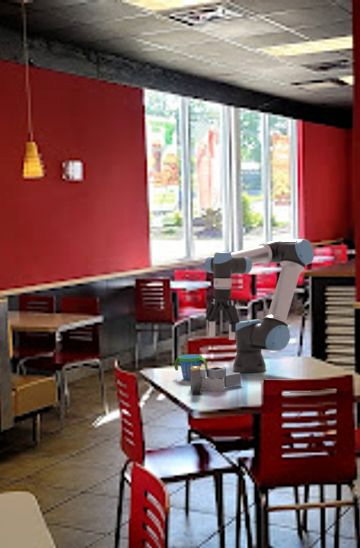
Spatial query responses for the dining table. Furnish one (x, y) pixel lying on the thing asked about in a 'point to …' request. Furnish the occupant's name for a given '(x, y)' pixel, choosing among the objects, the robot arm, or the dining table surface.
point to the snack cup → (189, 364)
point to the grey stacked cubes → (224, 376)
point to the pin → (196, 380)
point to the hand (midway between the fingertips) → (222, 338)
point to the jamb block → (191, 377)
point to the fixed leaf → (211, 382)
